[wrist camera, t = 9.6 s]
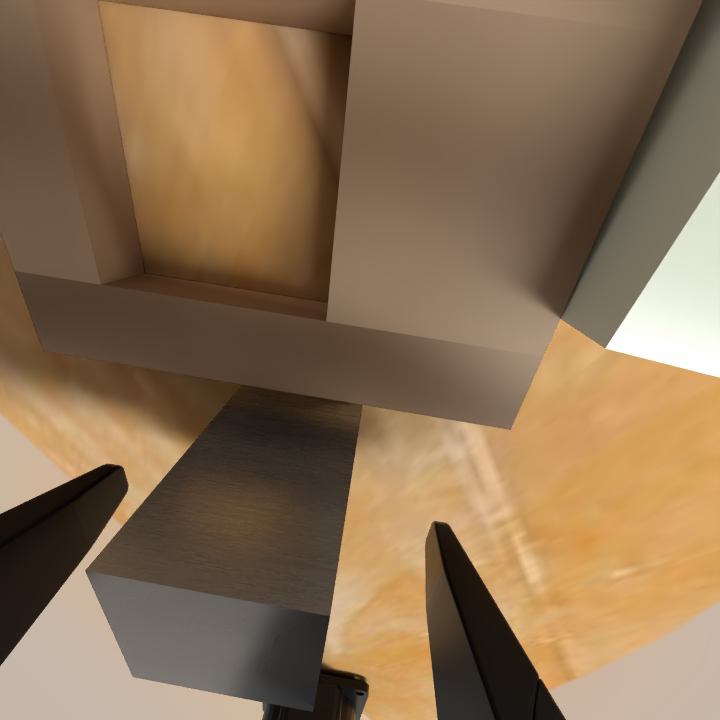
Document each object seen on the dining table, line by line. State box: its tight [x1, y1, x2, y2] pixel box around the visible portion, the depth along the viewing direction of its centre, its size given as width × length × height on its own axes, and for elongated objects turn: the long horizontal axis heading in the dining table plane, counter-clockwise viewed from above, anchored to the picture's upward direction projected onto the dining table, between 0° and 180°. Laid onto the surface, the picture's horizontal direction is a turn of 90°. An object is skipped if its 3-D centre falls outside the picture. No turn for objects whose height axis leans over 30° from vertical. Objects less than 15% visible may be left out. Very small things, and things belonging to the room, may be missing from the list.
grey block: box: [85, 385, 362, 712], centre depth 9 cm, size 4×4×6 cm
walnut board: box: [0, 0, 703, 429], centre depth 6 cm, size 14×13×2 cm
